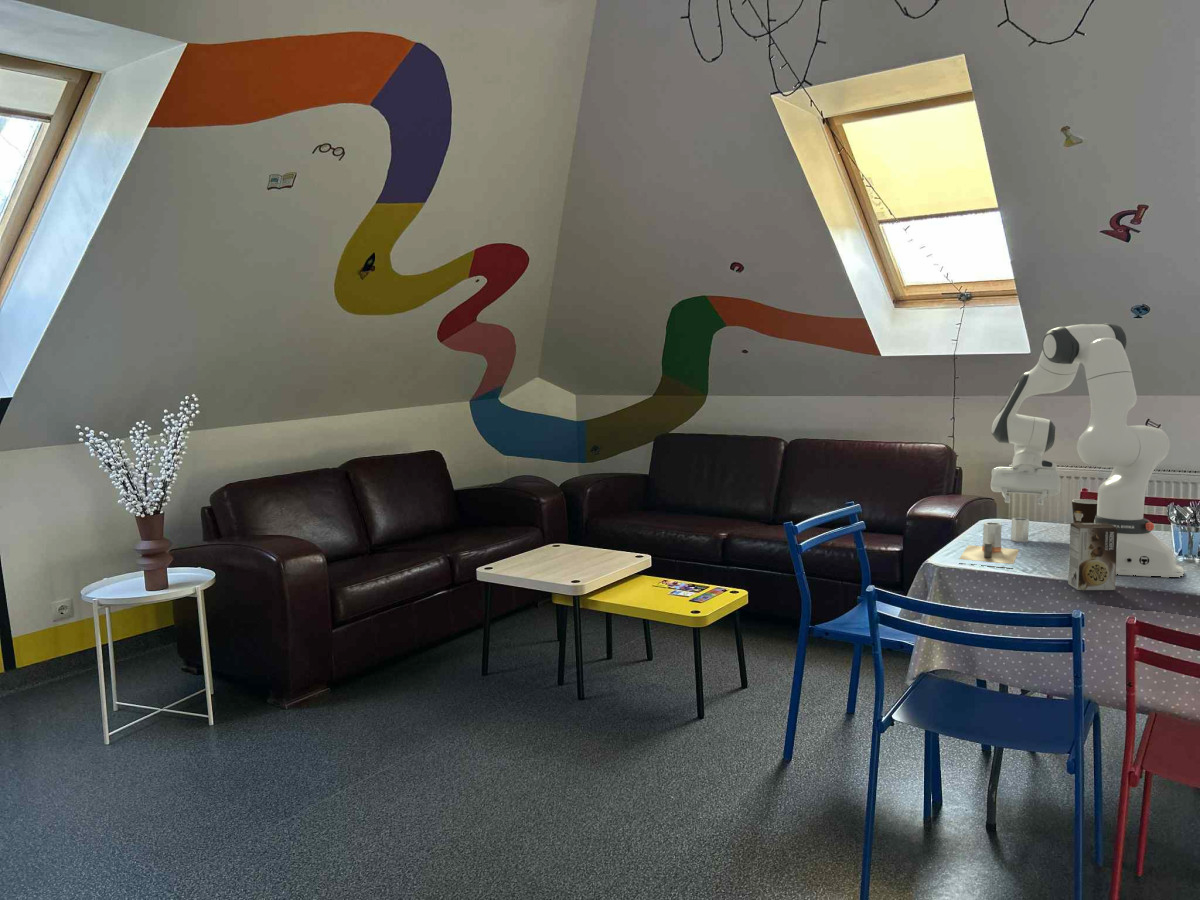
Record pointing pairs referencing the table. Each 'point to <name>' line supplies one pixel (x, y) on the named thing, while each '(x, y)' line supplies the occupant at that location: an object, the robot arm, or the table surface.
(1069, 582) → the coffee box
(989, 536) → the sleeve
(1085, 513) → the coffee mug
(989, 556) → the pin board
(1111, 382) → the robot arm
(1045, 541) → the table surface
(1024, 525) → the steel sleeve
